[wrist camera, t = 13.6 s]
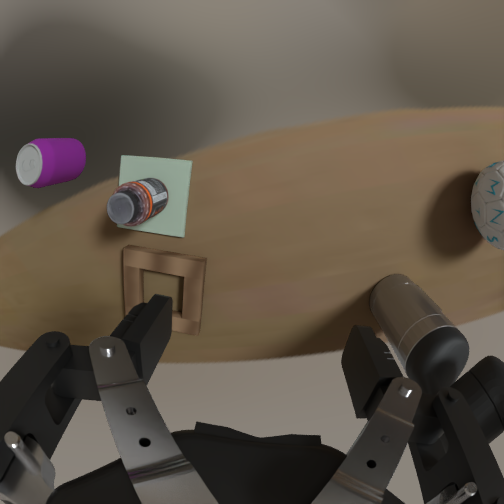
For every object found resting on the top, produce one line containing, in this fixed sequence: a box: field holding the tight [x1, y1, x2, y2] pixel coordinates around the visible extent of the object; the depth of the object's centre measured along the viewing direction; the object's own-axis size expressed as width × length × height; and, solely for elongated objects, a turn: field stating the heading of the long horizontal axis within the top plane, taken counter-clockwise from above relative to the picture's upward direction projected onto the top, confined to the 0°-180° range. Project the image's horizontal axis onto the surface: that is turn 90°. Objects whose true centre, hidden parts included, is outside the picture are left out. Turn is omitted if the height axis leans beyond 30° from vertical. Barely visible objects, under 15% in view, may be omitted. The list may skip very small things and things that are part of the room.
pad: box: [117, 155, 192, 237], centre depth 44 cm, size 12×12×1 cm
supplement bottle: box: [107, 178, 169, 227], centre depth 38 cm, size 6×6×11 cm
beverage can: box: [16, 138, 86, 188], centre depth 37 cm, size 8×8×12 cm
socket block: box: [123, 245, 207, 336], centre depth 48 cm, size 14×14×2 cm
